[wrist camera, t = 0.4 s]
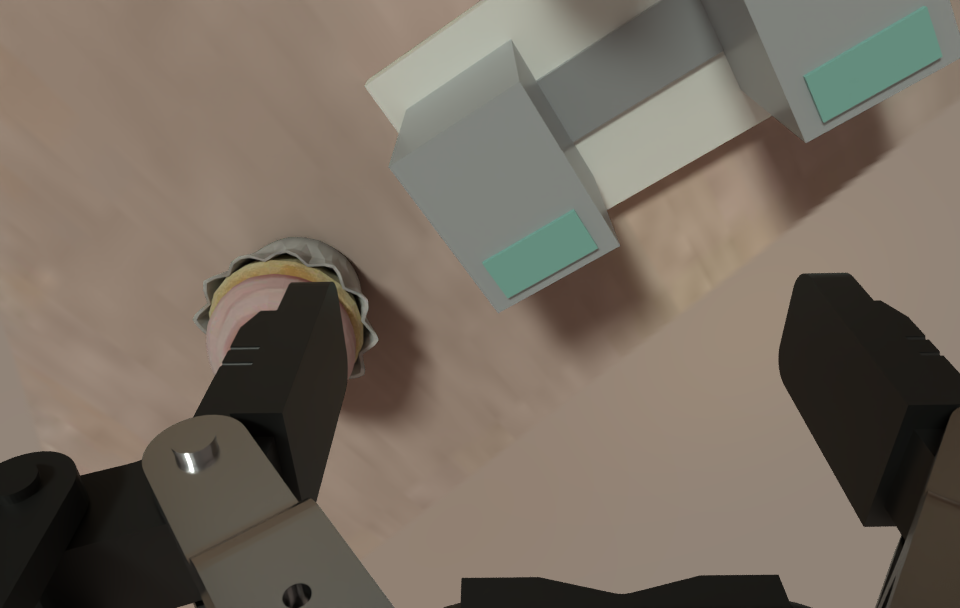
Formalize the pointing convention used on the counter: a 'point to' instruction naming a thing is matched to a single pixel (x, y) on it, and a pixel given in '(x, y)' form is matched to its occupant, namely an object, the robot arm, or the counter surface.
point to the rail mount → (621, 108)
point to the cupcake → (263, 286)
